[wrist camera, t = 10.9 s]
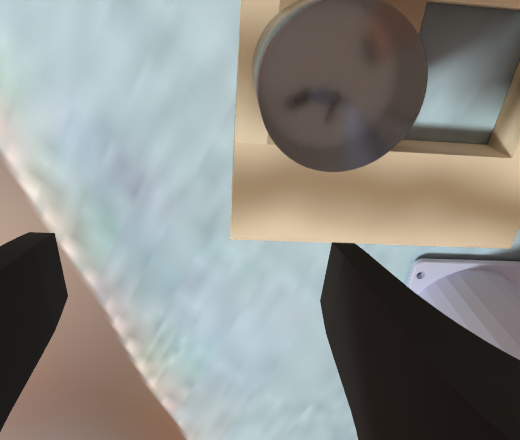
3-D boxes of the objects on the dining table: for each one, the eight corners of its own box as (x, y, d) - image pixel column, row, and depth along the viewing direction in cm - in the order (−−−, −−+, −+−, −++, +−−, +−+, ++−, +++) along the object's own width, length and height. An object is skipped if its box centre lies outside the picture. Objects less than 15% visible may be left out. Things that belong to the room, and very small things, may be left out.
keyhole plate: (488, 229, 22) (510, 248, 21) (230, 219, 21) (230, 239, 19) (643, -132, 15) (698, -151, 13) (249, -186, 13) (252, -216, 11)
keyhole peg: (345, 123, 19) (398, 178, 13) (243, 112, 18) (249, 164, 12) (372, 7, 16) (453, 9, 10) (256, -10, 16) (271, -18, 10)
